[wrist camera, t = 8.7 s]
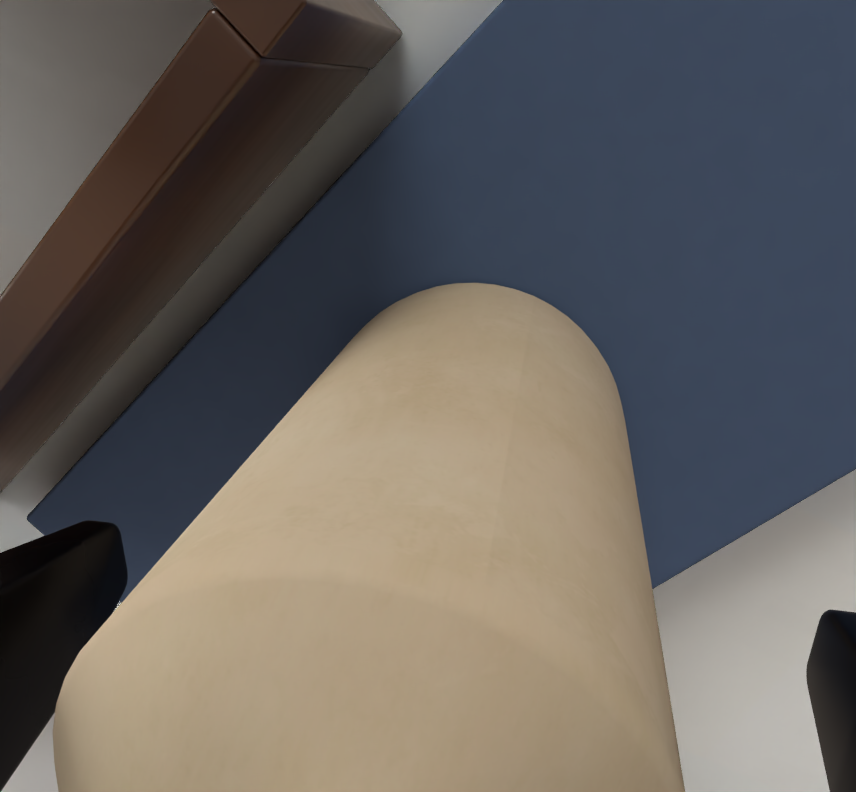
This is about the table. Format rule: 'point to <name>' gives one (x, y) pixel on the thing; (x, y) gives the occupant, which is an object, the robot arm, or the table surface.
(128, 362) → the table surface
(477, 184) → the mat
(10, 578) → the robot arm
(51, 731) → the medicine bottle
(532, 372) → the candle
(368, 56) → the crate
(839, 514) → the table surface
